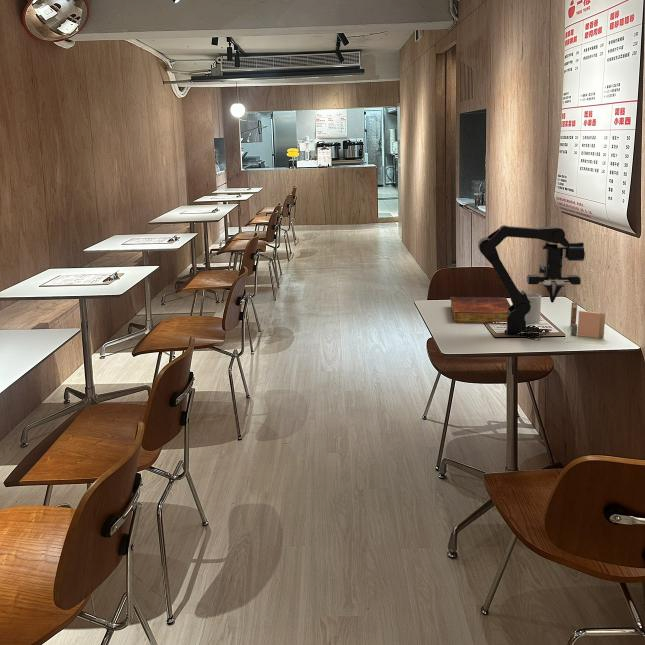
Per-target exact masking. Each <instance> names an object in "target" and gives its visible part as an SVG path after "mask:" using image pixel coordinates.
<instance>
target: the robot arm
mask: <svg viewBox="0 0 645 645" xmlns="http://www.w3.org/2000/svg"><path fill="white" fill-rule="evenodd" d="M507 237H508V238H519V239H521V238H523V239H533V240H534V239H535V240H536V239H537V240H542V241H544V242H545V243H544V244H542V245H541V249H543V250H546V261H545V262H546V263H545V264H539V266H538V274H528V275H526V283H527V284H528V285H538V284H540V283H541V285H543V287H545V288H546V290H547V293H548V296H549V300H550V303H553V304H554V302H555V301H556V298H557V296H558V294H559V292H560V291H561V289H562V288H563V287H565V284H564V283H570V284H571V285H573V286H574V285H577V286H579V285H581V282H582V281H581V280H582V278H581V277H580V276H579V275H578V274H567V275H566V277H565V276H563V258H564V259H566V261H567V262H583V261H585V258H586V257H585V256H586V252H585V247H584V246H585V245H584V242H581V241H580V242H569V240H567V239H566V233H565V230H563V229H562V228H561V227H559V226H557V225H551V226H544V227H527V226H526V227H525V226H513V225H512V226H511V225H507V224H506V225H505V224H504V225H501V226H500V227H499V228H498V229H496V230H494V231H493V232H492V233H490V234H489V235H488V236H486V237H482V238H480V240H479V241H478V242H477V248H478V250H479V251H480V254H482V255H483V256H484V258H485V259H486V260H487V261H488V262H489V263H490V265H491V266H492V268H493V269H494V271H495V273H496V274H497V276H498V278H499V279H500V281H501V283H502V284H503V286H504V288H505V289H506V291H507V293H508V296H509V298H510V302H511V304H510V305H511V306H510V307H509V308H508V309H507V312H508V315H509V316H507V324H506V327H505V328H506V329H505V332H507V333H506V335H508V334H518V333H520V332H521V331H523V330H525V329H526V330H527V324H526V321H525V315H526V314H527V313H529V311H530V309H531V305H530V303H531V301H530V300H529V298H527V295H526V293H527V292H525V290H524V289H523V290H522V291H520V290H519V289H518V287H517V286H516V284H515V283H514V281H513V279H512V278H511V275H510V274H509V272H508V270H507V269H506V267H505V266H504V264H503V262H502V260H501V259H500V255H499V253H498V251H497V246H499V245H500V244H501V243H502V242H503V241H504V240H505V239H506V238H507ZM558 244H560V246H558ZM561 245H562V246H561ZM540 274H541V275H543V276H540ZM552 283H553V284H552Z"/></svg>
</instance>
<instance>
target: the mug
mask: <svg viewBox="0 0 645 645" xmlns="http://www.w3.org/2000/svg"><path fill="white" fill-rule="evenodd" d="M525 293H526V295H527V298H529V300H530V301H531V303H530V305H531V309H530V311H529V313H527V314H526V315H525V321H526V323H530V324H529V325H535V323H537V324H540V323H541V310H542V309H541V305H542V295H541V294H539V293H532V292H530V293H529V292H525ZM539 322H540V323H539Z"/></svg>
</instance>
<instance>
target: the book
mask: <svg viewBox="0 0 645 645" xmlns="http://www.w3.org/2000/svg"><path fill="white" fill-rule="evenodd" d="M449 299H450V308H451V309H452V310H451V312H452V313H451V314H452V316H453V320H454V323H455V324H497V323H496V322H507V316H509V315H508V312H507V309H508V308H509V307H510V306H511V305H512V304H510V302H509V301H508V299H507V297H499V296H498V297H494V296H493V297H491V296H489V297H487V296H486V297H485V296H483V297H481V296H478V297H477V296H474V297H473V296H449ZM493 322H494V323H493Z"/></svg>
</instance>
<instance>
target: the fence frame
mask: <svg viewBox="0 0 645 645" xmlns="http://www.w3.org/2000/svg"><path fill="white" fill-rule="evenodd" d="M577 310H578V302H575V301H572V302H571V311H570V312H571V313H570V324H569V326H570V327H571V335H572V336H576V335H577V327H578V323H577V315H578V314H577V313H578V311H577Z"/></svg>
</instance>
